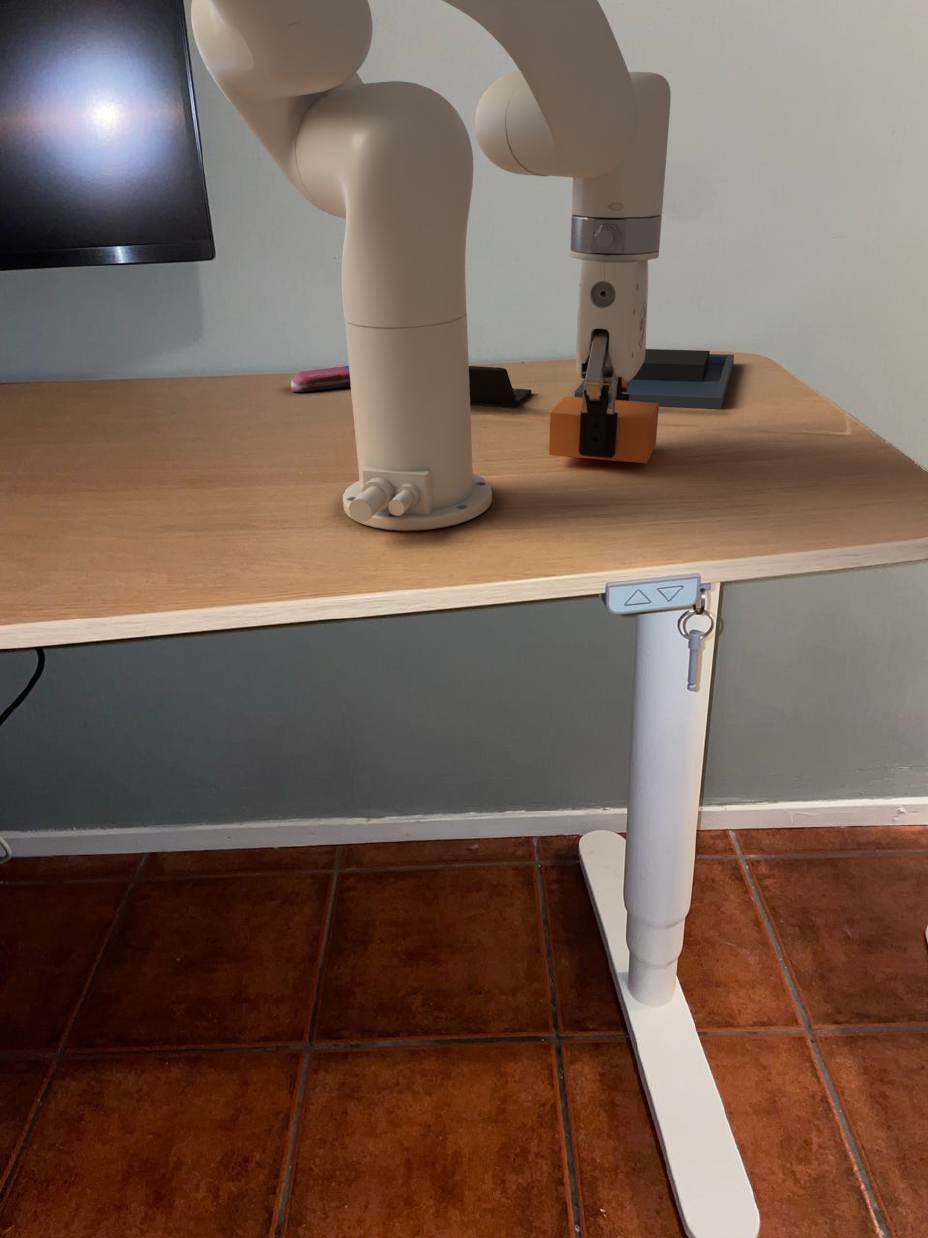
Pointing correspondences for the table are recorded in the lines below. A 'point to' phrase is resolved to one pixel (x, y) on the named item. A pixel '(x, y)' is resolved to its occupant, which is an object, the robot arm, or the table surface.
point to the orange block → (631, 433)
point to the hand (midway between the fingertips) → (603, 443)
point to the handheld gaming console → (494, 388)
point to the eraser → (321, 379)
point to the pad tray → (684, 388)
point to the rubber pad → (674, 365)
